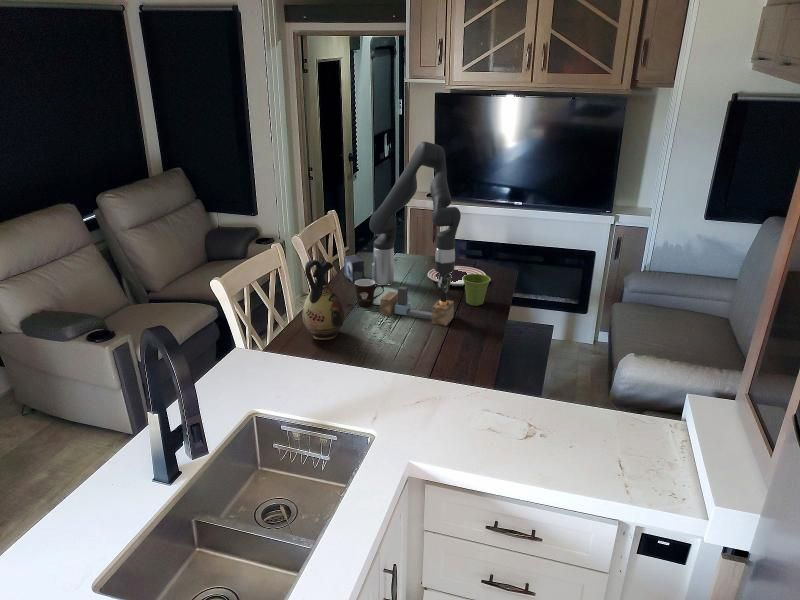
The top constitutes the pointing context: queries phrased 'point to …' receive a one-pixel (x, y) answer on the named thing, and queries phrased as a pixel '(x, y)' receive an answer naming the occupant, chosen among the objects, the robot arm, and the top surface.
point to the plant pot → (475, 288)
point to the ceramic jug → (322, 304)
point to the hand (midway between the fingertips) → (443, 301)
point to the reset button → (443, 303)
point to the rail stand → (438, 315)
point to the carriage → (402, 301)
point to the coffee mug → (366, 292)
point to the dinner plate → (460, 268)
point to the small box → (353, 267)
